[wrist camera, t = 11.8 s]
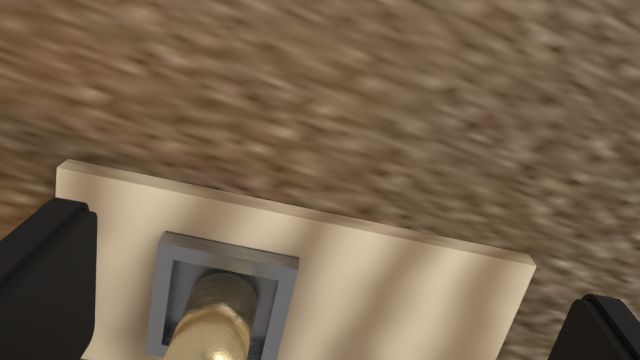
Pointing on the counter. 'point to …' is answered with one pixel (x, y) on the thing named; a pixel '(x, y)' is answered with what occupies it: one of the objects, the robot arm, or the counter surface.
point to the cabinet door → (287, 275)
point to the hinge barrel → (215, 320)
